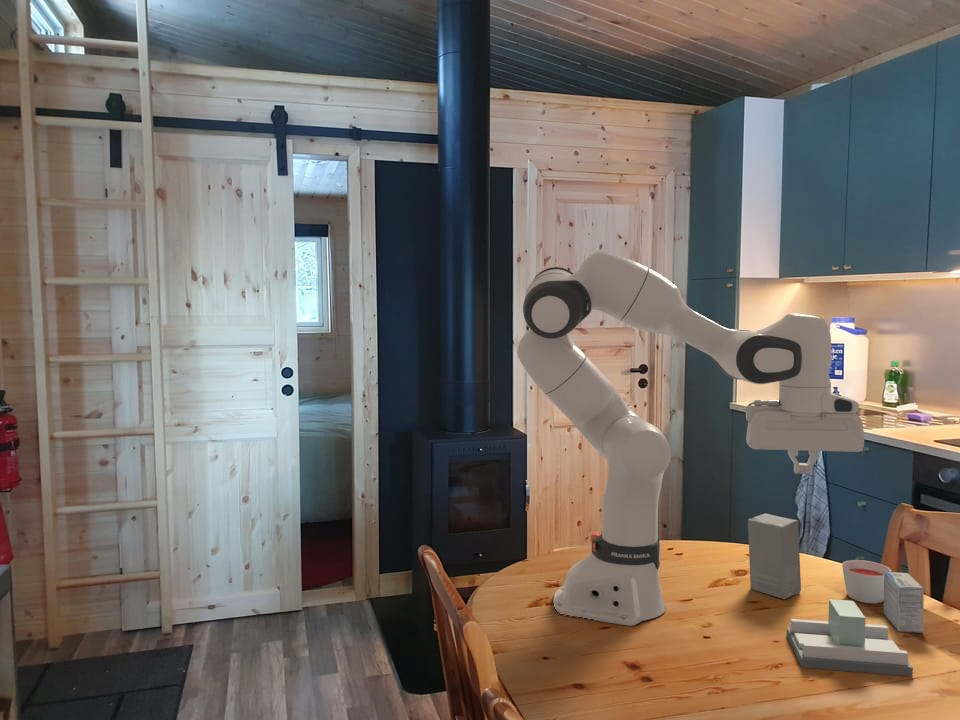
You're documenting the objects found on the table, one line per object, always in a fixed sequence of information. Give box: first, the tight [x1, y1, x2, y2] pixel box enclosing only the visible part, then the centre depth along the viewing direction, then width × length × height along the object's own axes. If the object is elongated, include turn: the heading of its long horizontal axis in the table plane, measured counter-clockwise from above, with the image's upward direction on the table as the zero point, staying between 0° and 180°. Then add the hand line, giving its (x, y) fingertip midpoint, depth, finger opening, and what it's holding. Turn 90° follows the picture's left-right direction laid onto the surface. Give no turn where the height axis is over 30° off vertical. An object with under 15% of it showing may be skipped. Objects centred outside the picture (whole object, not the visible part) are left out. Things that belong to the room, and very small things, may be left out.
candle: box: [841, 559, 892, 604], centre depth 150 cm, size 9×9×6 cm
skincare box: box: [747, 512, 802, 600], centre depth 153 cm, size 8×7×16 cm
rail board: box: [786, 618, 914, 677], centre depth 126 cm, size 17×12×4 cm
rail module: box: [828, 599, 866, 647], centre depth 126 cm, size 4×7×6 cm, turn 168°
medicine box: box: [883, 571, 925, 634], centre depth 138 cm, size 8×4×9 cm, turn 168°
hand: (802, 473), depth 137 cm, fingers closed
